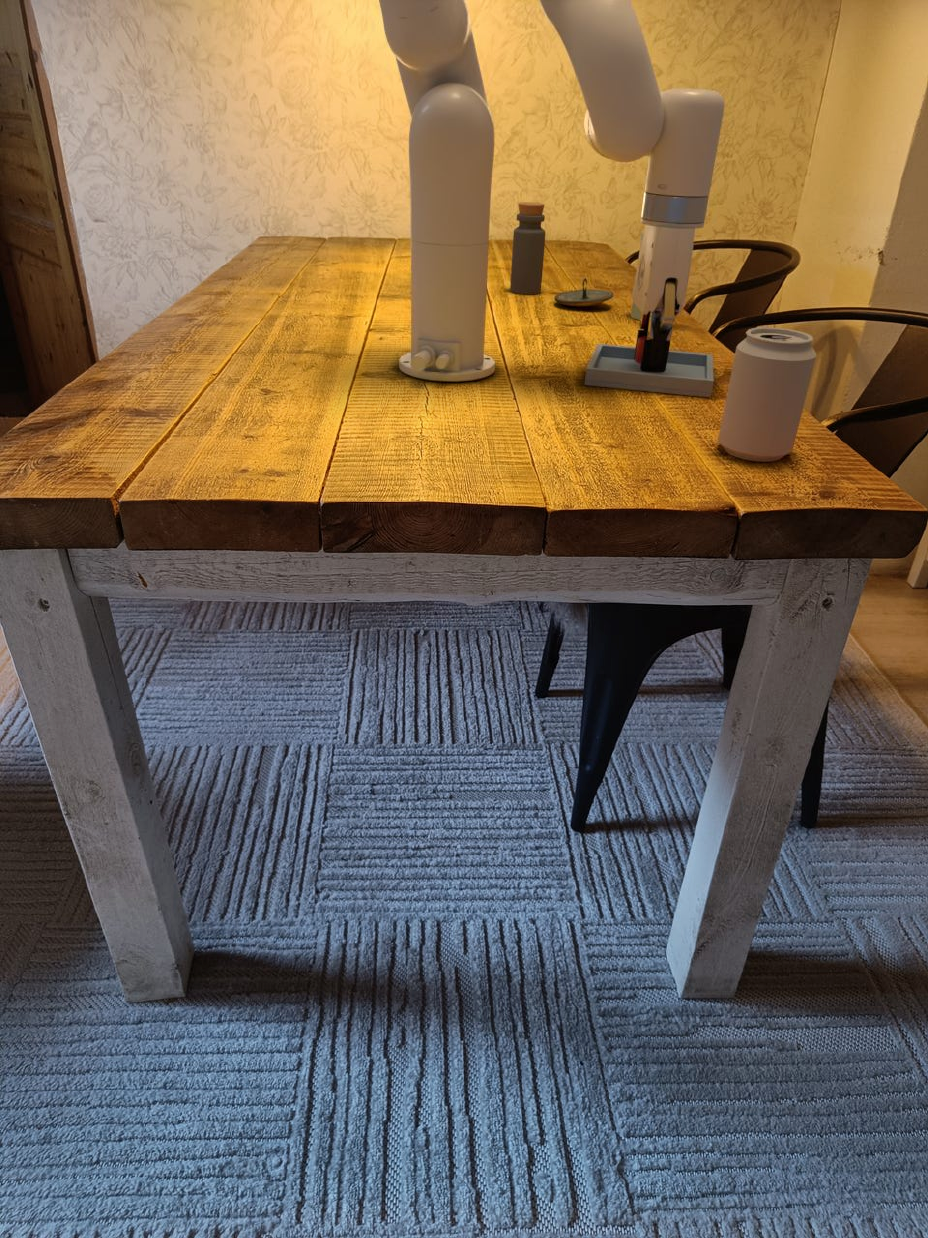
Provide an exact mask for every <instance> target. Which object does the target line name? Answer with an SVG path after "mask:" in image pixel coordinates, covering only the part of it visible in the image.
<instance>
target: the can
mask: <svg viewBox="0 0 928 1238" xmlns="http://www.w3.org/2000/svg"><path fill="white" fill-rule="evenodd" d="M745 334H746V337H745V338H744V339H743V340H742V341H740V342H739V343H738V344H737V346H736V347H735V353H734V356H733V363H732V367H731V373H730V377H729V382H728V386H727V387H728V388H727V392H726V397H725V402H724V407H723V411H722V417H721V422H720V427H719V432H718V437H717V440H718V443H719V444H720V445H721V446H722V447H723V449H724V451H725V452H726V453H728V454H729V455H731V456H732V457H735V458H738V459H742V460H745V461H752V462H760V463H761V462H763V463H764V462H775V461H780V459H782V458H784V457H785V456H786V455H788V454H790V453H792V452H793V450H794V447H795V442H796V439H797V435H798V430H799V428H800V427H799V426H800V422H801V418H802V415H803V411H804V407H805V402H806V398H807V394H808V391H809V387H810V382H811V380H812V375H813V371H814V367H815V363H816V359H817V355H818V354H817V352H816V351H815V349H814V347H813V346H812V343H813V341H814V340H815V339H814V337H813V335H811V334H809V333H806V332H804V331H800V330H796V329H792V328H791V329H790V328H783V327H773V326H772V327H770V326H769V327H768V326H761V327H753V328H749V329H748V330H747V331H746V332H745Z"/></svg>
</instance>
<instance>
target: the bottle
mask: <svg viewBox="0 0 928 1238" xmlns="http://www.w3.org/2000/svg"><path fill="white" fill-rule="evenodd" d="M544 208H545V204H544V203H540V202H529V201H528V202H518V212H519V213H517V214H516V221H518V222H519V223H518V226H517V227H515V228H514V230H513V236H512V251H511V252H512V253H511V254H512V255H511V272H510V287H509V289H510V292H511V293H513V294H518V295H528V296H529V295H538V294H541V293H542V282H543V272H544V271H543V270H544V259H545V245H546V230H545V229H544V228H542V223H543V222H545V220H546V219H545V218H546V215H545V214H543V213H544V210H545V209H544Z"/></svg>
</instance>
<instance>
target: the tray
mask: <svg viewBox="0 0 928 1238" xmlns="http://www.w3.org/2000/svg"><path fill="white" fill-rule="evenodd" d="M635 348H636V346H627V345H626V346H625V345H617V344H606V343H605V344H604V343H597V344H596V347H595V349H594V351H593V353H592V355H591V356H590V360H589V362H588V364H587V366H586V368H585V377H584V385H585V386H591V387H598V388H599V387H600V388H611V389H619V390H620V389H621V390H629V391H639V392H649V393H660V394H668V395H669V394H670V395H679V396H689V397H699V398H707V399H708V398H709V399H711V397H712V393H713V389H714V382H715V375H714V354H712V353H703V352H691V351H682V350H670V349H669V353H668V359H667V365H666V370H665V372H663V373H661V372H643V371H641V369H640V365H641V364H639V363H637V362H636V361H635V360H634V355H635Z"/></svg>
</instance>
